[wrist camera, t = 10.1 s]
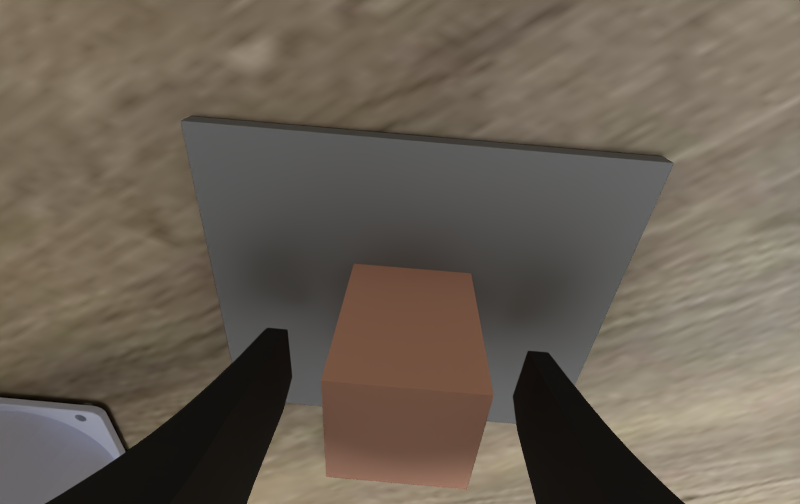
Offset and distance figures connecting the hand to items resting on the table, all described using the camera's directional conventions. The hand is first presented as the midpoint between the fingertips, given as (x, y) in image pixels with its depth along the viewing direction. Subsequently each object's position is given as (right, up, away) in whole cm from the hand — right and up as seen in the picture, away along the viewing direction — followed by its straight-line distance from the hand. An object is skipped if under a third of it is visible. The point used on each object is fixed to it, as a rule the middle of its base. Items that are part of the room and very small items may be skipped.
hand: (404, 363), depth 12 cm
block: (0, +1, +2) cm, 3 cm away
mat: (0, +2, +3) cm, 3 cm away
